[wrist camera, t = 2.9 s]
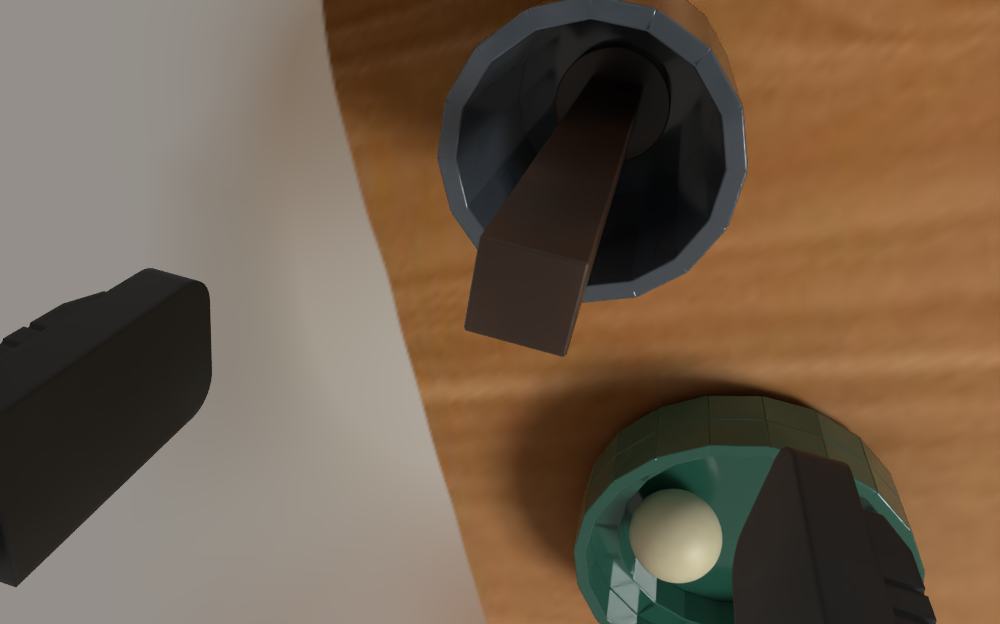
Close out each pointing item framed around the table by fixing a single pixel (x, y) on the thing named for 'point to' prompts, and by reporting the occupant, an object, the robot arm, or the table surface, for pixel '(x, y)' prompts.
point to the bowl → (704, 497)
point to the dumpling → (675, 535)
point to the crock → (642, 181)
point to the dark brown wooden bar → (566, 199)
